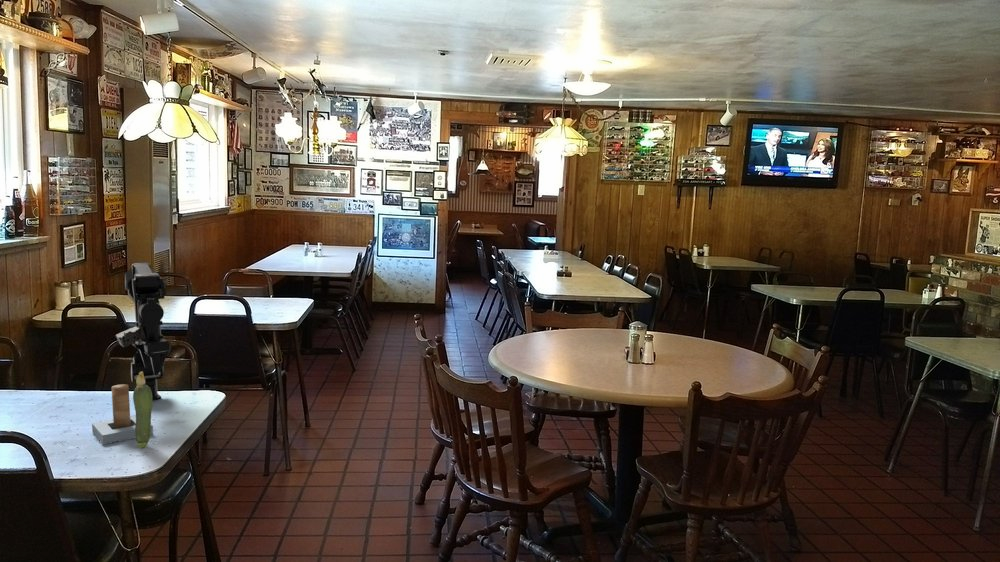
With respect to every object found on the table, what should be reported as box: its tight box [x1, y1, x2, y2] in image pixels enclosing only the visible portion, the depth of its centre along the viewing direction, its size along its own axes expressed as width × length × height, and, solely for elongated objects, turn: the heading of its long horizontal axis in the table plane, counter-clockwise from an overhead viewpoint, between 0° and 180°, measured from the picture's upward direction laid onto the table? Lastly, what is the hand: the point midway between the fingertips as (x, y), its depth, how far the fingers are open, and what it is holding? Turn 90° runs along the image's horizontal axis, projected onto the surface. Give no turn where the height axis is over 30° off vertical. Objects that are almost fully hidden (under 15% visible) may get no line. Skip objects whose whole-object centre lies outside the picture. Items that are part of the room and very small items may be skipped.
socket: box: [91, 414, 154, 445], centre depth 190 cm, size 12×12×2 cm
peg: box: [111, 383, 131, 429], centre depth 189 cm, size 4×4×13 cm
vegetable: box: [132, 371, 154, 449], centre depth 180 cm, size 4×4×20 cm
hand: (151, 370), depth 205 cm, fingers open, 9 cm apart
